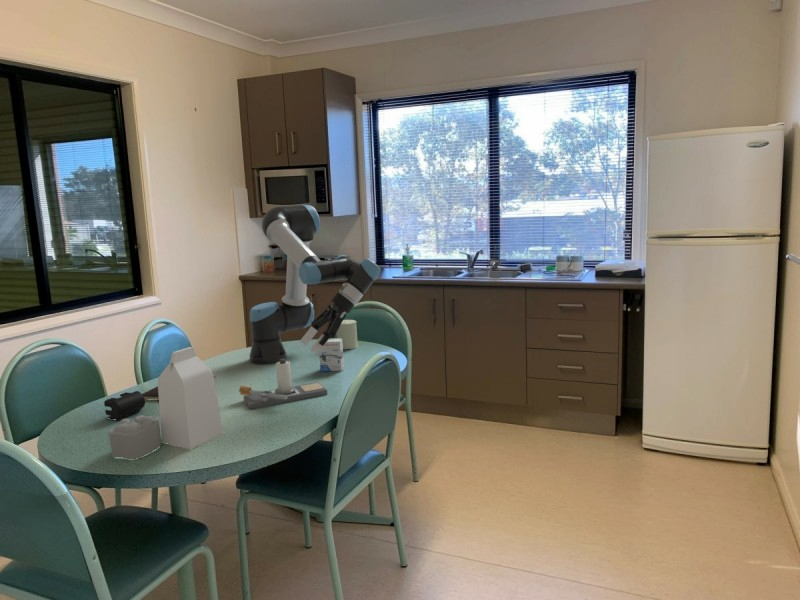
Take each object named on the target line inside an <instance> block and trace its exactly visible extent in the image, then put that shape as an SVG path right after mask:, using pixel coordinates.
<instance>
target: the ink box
mask: <svg viewBox="0 0 800 600" xmlns="http://www.w3.org/2000/svg"><path fill="white" fill-rule="evenodd" d="M318 356H319V368H320V371H319V372H342V371H343V370H344V369H345V363H344V362H345V361H344V350H343V343H342V339H337V338H333V339H332V338H331V339H329V340H328V341H327V342H326V344H325V345H324V346H323V348H322V349H321V350H320V351H319V353H318Z"/></svg>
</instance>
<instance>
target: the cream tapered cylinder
mask: <svg viewBox="0 0 800 600" xmlns="http://www.w3.org/2000/svg"><path fill="white" fill-rule="evenodd" d="M336 339H342V343H343V349H345V350H344V351H347V350H346V349H351V350H355V349H358V347H359V343H358V331H357V321H356V320H354V319H344V320H343V321H342V323H341V325H340V327H339V329H338V331H337V333H336ZM354 348H355V349H354Z"/></svg>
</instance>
